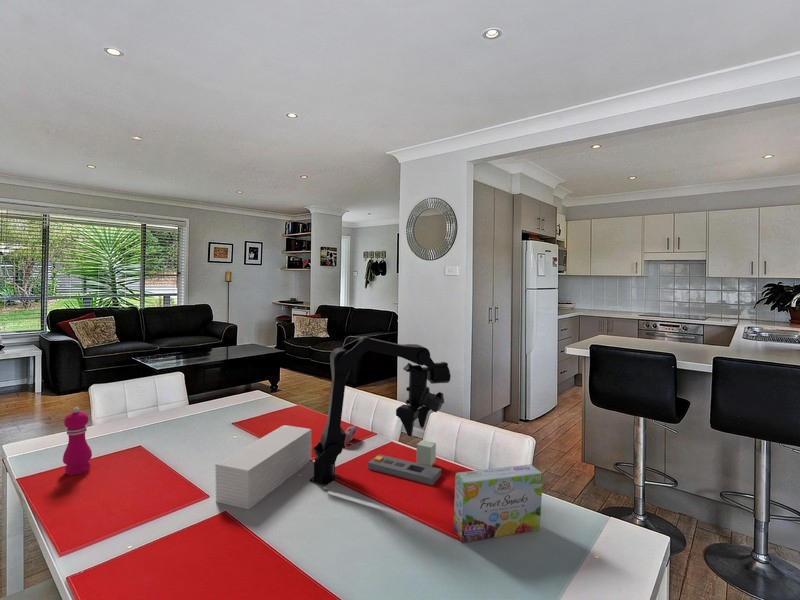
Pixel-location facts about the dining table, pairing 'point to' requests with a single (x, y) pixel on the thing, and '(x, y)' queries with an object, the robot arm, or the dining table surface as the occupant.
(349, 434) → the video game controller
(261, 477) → the stack of papers
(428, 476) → the power strip
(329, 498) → the dining table surface
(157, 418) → the dining table surface
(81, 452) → the pepper mill
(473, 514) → the snack box
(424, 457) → the block
